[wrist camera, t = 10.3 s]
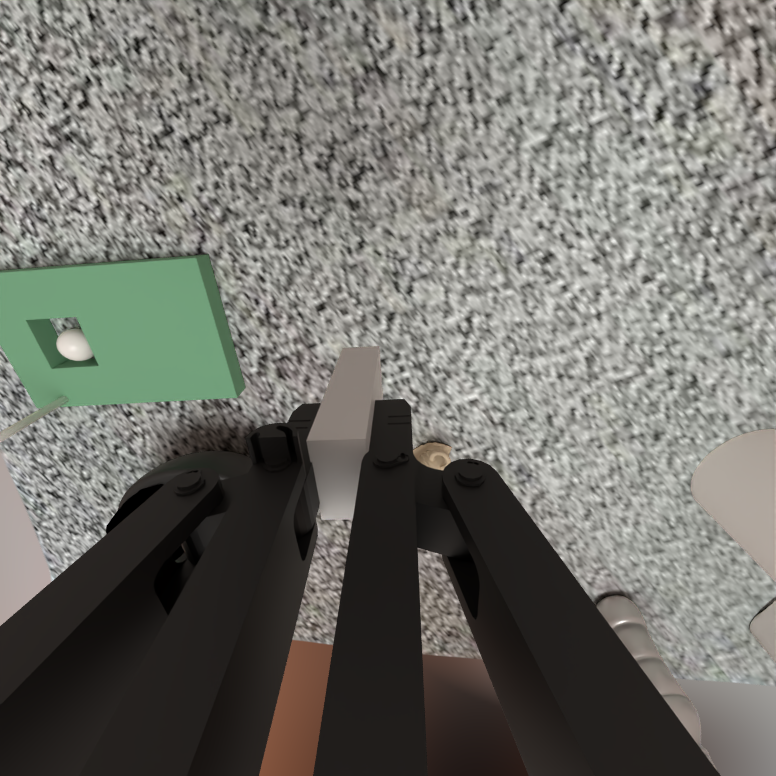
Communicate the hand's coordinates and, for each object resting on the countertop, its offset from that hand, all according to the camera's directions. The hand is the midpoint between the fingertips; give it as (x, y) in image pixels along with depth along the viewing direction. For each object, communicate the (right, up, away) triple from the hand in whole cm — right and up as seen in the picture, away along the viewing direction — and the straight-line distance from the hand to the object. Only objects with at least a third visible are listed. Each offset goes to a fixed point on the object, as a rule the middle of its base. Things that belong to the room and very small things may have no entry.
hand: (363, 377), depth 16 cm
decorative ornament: (+6, -9, +32) cm, 34 cm away
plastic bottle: (+37, -35, +44) cm, 68 cm away
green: (-28, +6, +26) cm, 39 cm away
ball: (-33, +4, +24) cm, 41 cm away
